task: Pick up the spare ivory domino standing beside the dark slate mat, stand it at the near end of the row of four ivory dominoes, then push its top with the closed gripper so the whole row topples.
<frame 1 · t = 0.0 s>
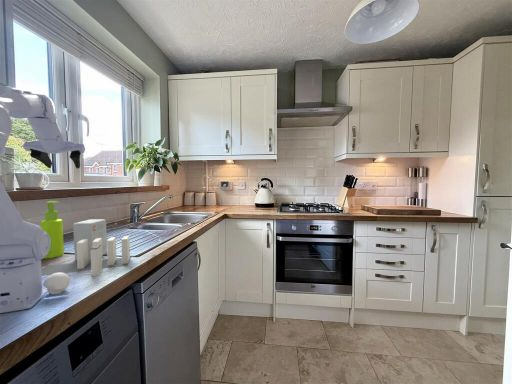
hand: (64, 166, 77), 32 cm above the worktop, tool tilted 50°, fingers open, 7 cm apart
domino 2: (83, 266, 73), resting on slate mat
domino 5: (126, 261, 77), resting on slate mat
small box: (91, 257, 83), on the worktop
domino 4: (112, 262, 76), resting on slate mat
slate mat: (86, 266, 73), on the worktop
mushroom: (56, 294, 56), on the worktop, touching arm
soap dispenser: (54, 256, 84), on the worktop
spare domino: (97, 273, 68), on the worktop
domino 3: (98, 264, 74), resting on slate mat
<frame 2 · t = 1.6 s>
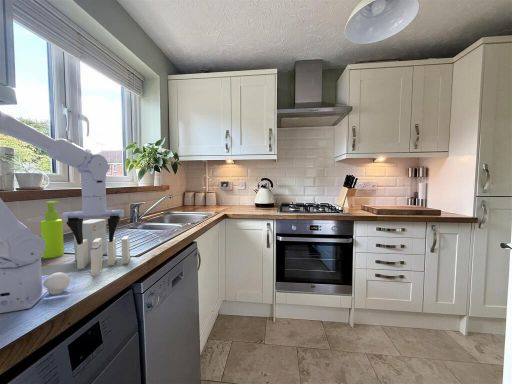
hand: (96, 242, 68), 9 cm above the worktop, tool pointing down, fingers open, 7 cm apart
nothing on the worktop moved.
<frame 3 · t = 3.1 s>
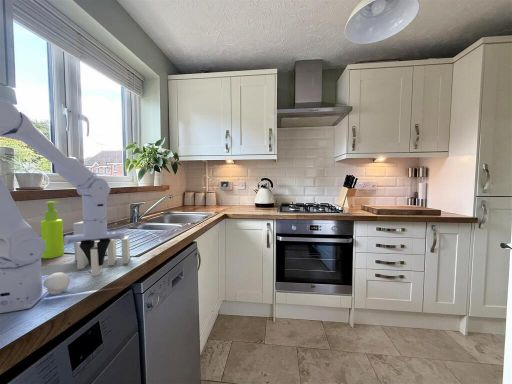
hand: (96, 265, 68), 3 cm above the worktop, tool pointing down, fingers closed on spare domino, 2 cm apart
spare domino: (97, 273, 68), on the worktop, touching gripper
everything else where it was.
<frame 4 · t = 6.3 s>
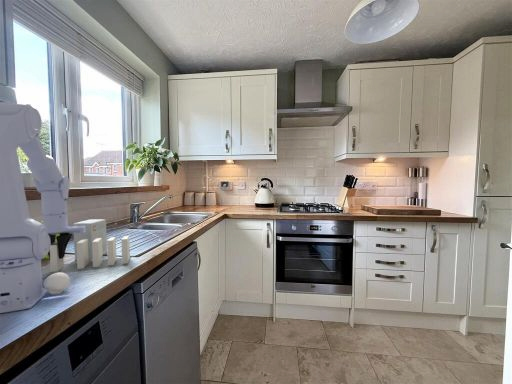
hand: (57, 258, 70), 4 cm above the worktop, tool pointing down, fingers closed on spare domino, 2 cm apart
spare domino: (57, 268, 71), resting on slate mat, touching gripper
everything else where it was.
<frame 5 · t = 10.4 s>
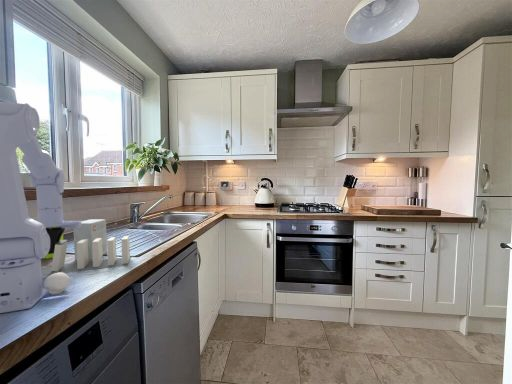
hand: (52, 252, 70), 6 cm above the worktop, tool pointing down, fingers closed
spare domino: (57, 268, 71), point 1 cm above the worktop, tilted 9°, touching gripper, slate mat
everything else where it was.
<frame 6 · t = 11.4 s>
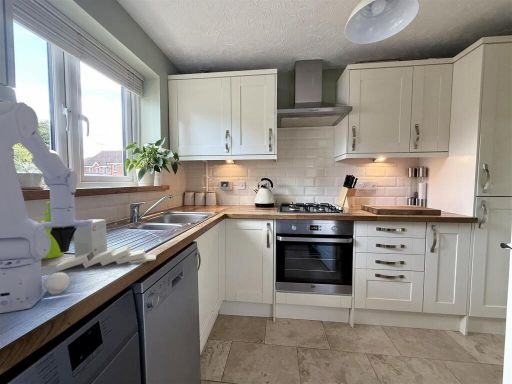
hand: (64, 251, 71), 6 cm above the worktop, tool pointing down, fingers closed
domino 2: (86, 263, 73), point 1 cm above the worktop, tilted 69°, touching domino 3, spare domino
domino 5: (130, 261, 78), on the worktop, tilted 90°
domino 4: (118, 259, 76), point 1 cm above the worktop, tilted 80°, touching domino 3, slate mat
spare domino: (60, 266, 71), point 1 cm above the worktop, tilted 74°, touching domino 2, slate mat
domino 3: (103, 261, 75), point 1 cm above the worktop, tilted 68°, touching domino 2, domino 4
everything else where it was.
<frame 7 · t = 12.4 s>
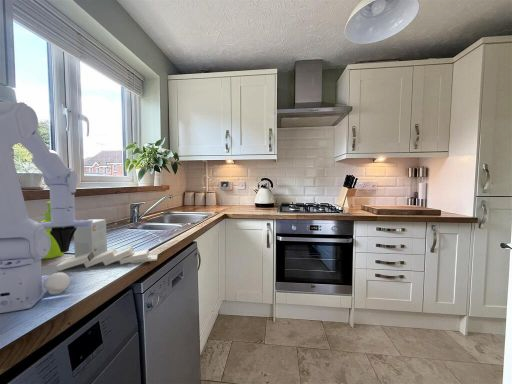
hand: (64, 251, 71), 6 cm above the worktop, tool pointing down, fingers closed
domino 2: (87, 263, 73), point 1 cm above the worktop, tilted 70°, touching domino 3, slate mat, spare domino
domino 4: (122, 259, 77), point 1 cm above the worktop, tilted 80°, touching domino 3
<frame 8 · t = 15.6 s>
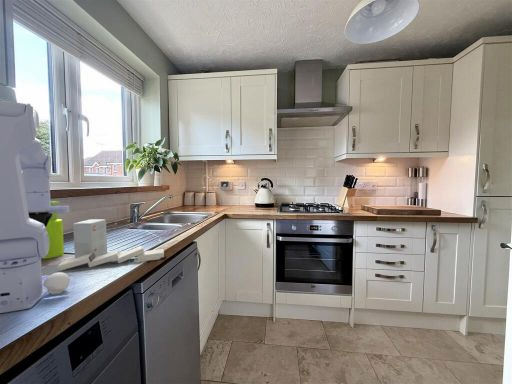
hand: (39, 237, 69), 10 cm above the worktop, tool pointing down, fingers closed
domino 2: (90, 262, 74), point 1 cm above the worktop, tilted 77°, touching domino 3, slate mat, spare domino
domino 5: (134, 261, 78), on the worktop, tilted 90°, touching domino 4
domino 4: (138, 256, 79), point 1 cm above the worktop, tilted 90°, touching domino 3, domino 5
domino 3: (117, 259, 77), point 1 cm above the worktop, tilted 73°, touching domino 2, domino 4, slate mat
everything else where it was.
at the end: domino 5 tilted 90°; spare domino tilted 77° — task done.
